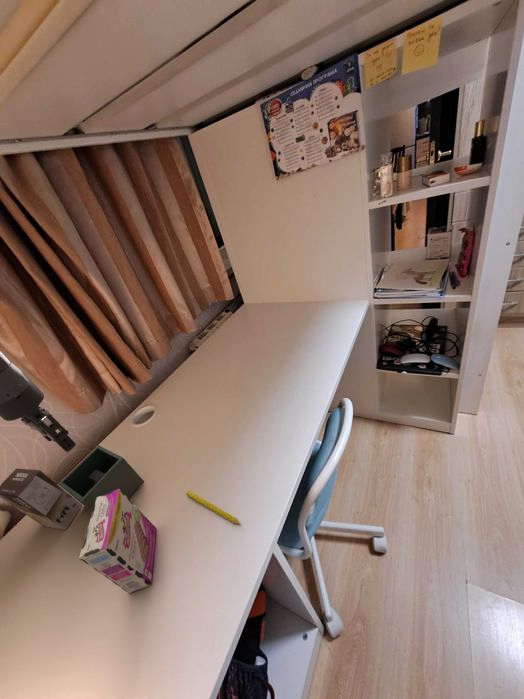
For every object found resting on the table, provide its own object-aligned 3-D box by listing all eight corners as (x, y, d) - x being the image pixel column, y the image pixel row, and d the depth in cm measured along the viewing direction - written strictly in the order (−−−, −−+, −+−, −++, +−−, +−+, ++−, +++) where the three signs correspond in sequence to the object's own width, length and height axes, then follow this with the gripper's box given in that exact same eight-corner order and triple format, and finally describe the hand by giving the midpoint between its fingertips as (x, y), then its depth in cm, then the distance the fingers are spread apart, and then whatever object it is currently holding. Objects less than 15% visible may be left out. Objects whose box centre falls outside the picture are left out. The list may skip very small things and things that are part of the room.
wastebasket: (83, 505, 75) (57, 483, 69) (119, 467, 83) (98, 445, 77) (108, 524, 69) (81, 501, 63) (144, 481, 76) (123, 457, 71)
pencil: (187, 496, 69) (185, 494, 69) (189, 492, 70) (188, 490, 69) (240, 527, 60) (238, 525, 59) (242, 523, 60) (241, 520, 60)
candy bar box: (153, 585, 56) (106, 548, 47) (129, 595, 55) (76, 560, 46) (158, 526, 65) (119, 487, 56) (137, 534, 65) (94, 496, 56)
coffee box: (83, 504, 76) (41, 469, 67) (65, 530, 71) (17, 496, 62) (59, 501, 79) (16, 467, 70) (40, 526, 74) (-9, 493, 65)
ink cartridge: (104, 494, 76) (86, 476, 71) (111, 486, 77) (94, 468, 73) (115, 500, 73) (98, 482, 69) (122, 492, 75) (106, 474, 70)
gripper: (-25, 397, 57) (32, 448, 66) (0, 412, 49) (61, 467, 58) (14, 373, 62) (63, 423, 71) (43, 383, 54) (93, 437, 63)
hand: (62, 443), depth 64 cm, fingers open, 8 cm apart
